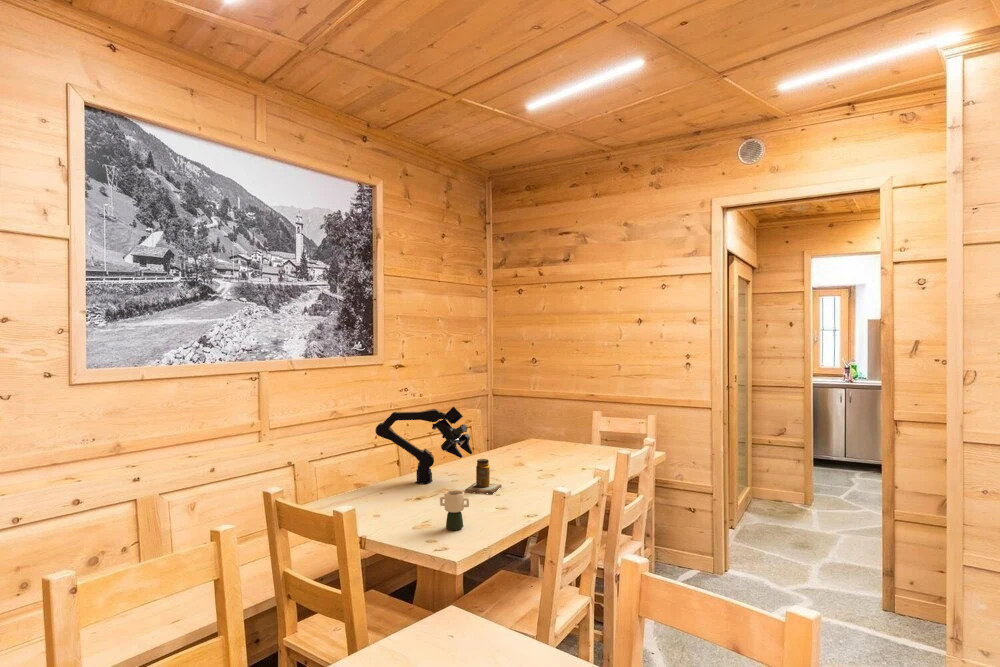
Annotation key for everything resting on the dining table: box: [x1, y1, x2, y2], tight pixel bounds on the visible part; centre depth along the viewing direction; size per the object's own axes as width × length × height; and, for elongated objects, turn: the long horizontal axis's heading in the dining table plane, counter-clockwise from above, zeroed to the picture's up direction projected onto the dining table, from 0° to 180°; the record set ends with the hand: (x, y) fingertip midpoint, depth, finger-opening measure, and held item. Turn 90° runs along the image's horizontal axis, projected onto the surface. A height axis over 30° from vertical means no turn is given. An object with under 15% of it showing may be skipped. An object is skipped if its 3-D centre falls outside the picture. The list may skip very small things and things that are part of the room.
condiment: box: [471, 458, 492, 489], centre depth 259 cm, size 7×8×12 cm
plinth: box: [464, 482, 503, 495], centre depth 259 cm, size 13×13×2 cm
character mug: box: [439, 489, 470, 531], centre depth 205 cm, size 11×7×13 cm, turn 78°
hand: (466, 455), depth 269 cm, fingers open, 9 cm apart
